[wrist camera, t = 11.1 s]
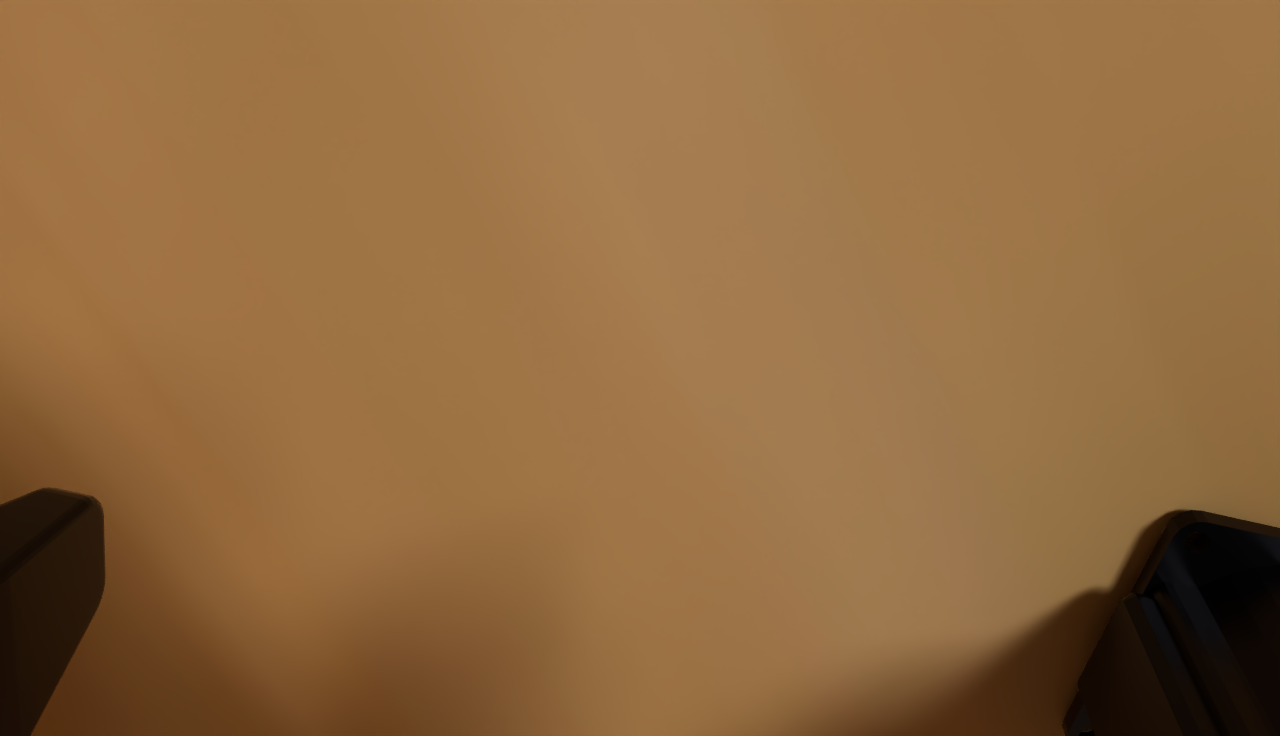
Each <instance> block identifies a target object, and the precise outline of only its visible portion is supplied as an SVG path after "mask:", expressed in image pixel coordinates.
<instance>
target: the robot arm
mask: <svg viewBox="0 0 1280 736" xmlns="http://www.w3.org/2000/svg"><path fill="white" fill-rule="evenodd" d="M1195 532H1203V534H1202V535H1201V536H1200V537H1199V538H1197V539H1195V540H1192V541H1185V539H1186V538H1187V537H1188V536H1189V535H1190V534H1193V533H1195ZM104 585H105V545H104V515H103V509H102V506H101V503H100V502H99V501H98V500H97V499H96V498H94V497H93V496H90V495H85V494H81V493H76V492H71V491H67V490H62V489H57V488H42V489H39V490H36V491H33V492H31V493H28V494H26V495H23V496H21V497H18V498H16V499H14V500H11V501H9V502H6V503H4V504H1V505H0V736H31V734H32V732H33V730H34V728H35V726H36V724H37V722H38V720H39V719H40V717H41V715H42V713H43V711H44V709H45V707H46V705H47V703H48V702H49V700H50V698H51V696H52V694H53V692H54V690H55V688H56V686H57V685H58V683H59V681H60V679H61V677H62V675H63V673H64V671H65V669H66V668H67V666H68V664H69V662H70V660H71V658H72V656H73V654H74V652H75V650H76V649H77V647H78V645H79V643H80V641H81V639H82V637H83V635H84V633H85V632H86V630H87V628H88V626H89V624H90V622H91V620H92V618H93V616H94V615H95V613H96V611H97V608H98V606H99V604H100V601H101V598H102V595H103V591H104ZM1078 689H1079V692H1078V693H1077V695H1076V697H1075V699H1074V701H1073V703H1072V705H1071V707H1070V709H1069V710H1068V712H1067V714H1066V716H1065V718H1064V721H1063V725H1062V726H1063V729H1064V733H1065V736H1280V528H1277V527H1272V526H1268V525H1263V524H1259V523H1254V522H1250V521H1245V520H1241V519H1236V518H1232V517H1227V516H1223V515H1218V514H1214V513H1209V512H1205V511H1196V510H1190V511H1186V512H1182V513H1180V514H1178V515H1177V516H1175V517H1173V518H1172V519H1171V521H1170V522H1169V523H1168V524H1167V526H1166V527H1165V529H1164V531H1163V533H1162V535H1161V537H1160V539H1159V541H1158V543H1157V544H1156V546H1155V548H1154V550H1153V552H1152V554H1151V556H1150V558H1149V560H1148V561H1147V563H1146V565H1145V567H1144V569H1143V571H1142V573H1141V575H1140V577H1139V578H1138V580H1137V582H1136V584H1135V586H1134V588H1133V590H1132V592H1131V593H1130V594H1128V595H1127V596H1126V597H1125V598H1123V599H1122V600H1121V601H1120V602H1119V604H1118V606H1117V608H1116V610H1115V612H1114V614H1113V616H1112V618H1111V620H1110V621H1109V623H1108V625H1107V627H1106V629H1105V631H1104V633H1103V635H1102V637H1101V638H1100V640H1099V642H1098V644H1097V646H1096V648H1095V650H1094V652H1093V654H1092V656H1091V657H1090V659H1089V661H1088V663H1087V665H1086V667H1085V669H1084V671H1083V673H1082V675H1081V676H1080V678H1079V680H1078ZM1087 729H1093V730H1092V731H1089V732H1082V731H1084V730H1087Z"/></svg>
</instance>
